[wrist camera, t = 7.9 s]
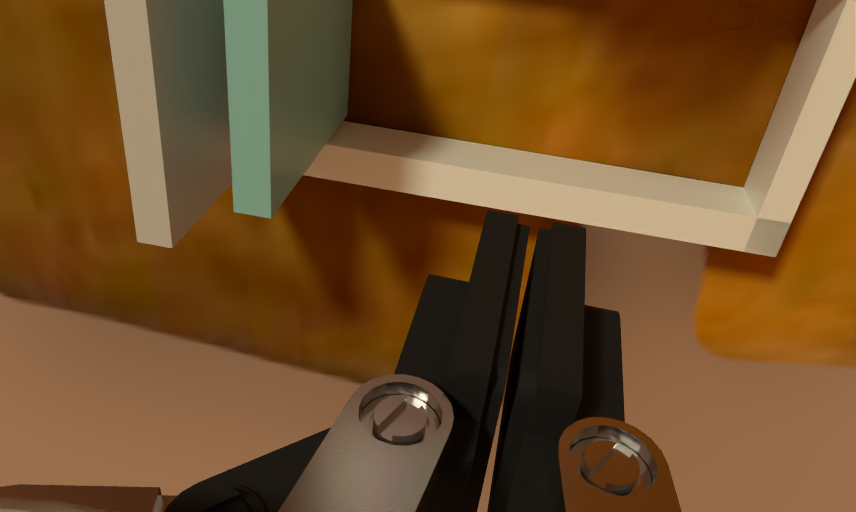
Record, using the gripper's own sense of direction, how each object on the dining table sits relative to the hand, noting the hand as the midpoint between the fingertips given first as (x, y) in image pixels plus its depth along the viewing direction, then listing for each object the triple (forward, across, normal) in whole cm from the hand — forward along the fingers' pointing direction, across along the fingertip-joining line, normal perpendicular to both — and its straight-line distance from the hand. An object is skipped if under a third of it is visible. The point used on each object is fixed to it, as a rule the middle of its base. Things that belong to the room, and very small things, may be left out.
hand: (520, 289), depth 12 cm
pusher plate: (+17, +9, +1) cm, 19 cm away
